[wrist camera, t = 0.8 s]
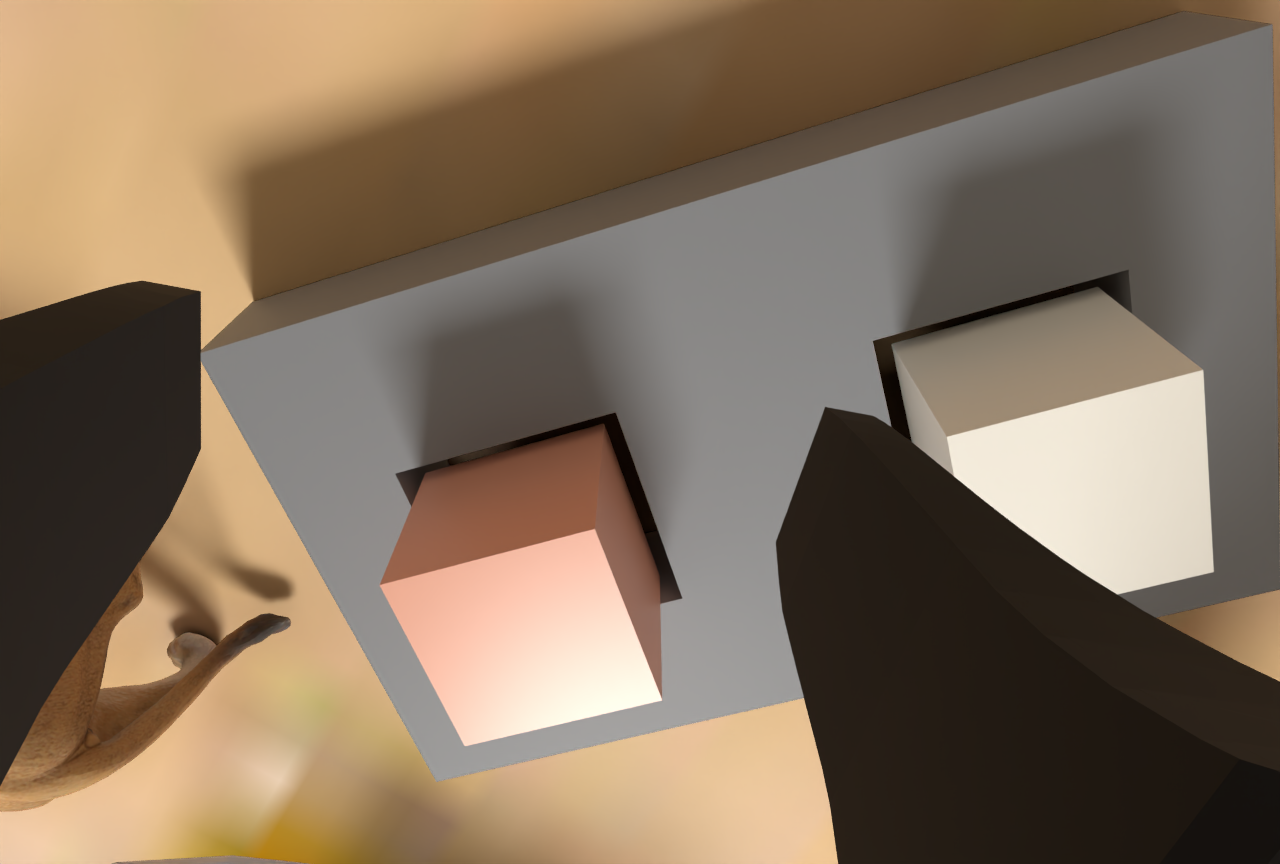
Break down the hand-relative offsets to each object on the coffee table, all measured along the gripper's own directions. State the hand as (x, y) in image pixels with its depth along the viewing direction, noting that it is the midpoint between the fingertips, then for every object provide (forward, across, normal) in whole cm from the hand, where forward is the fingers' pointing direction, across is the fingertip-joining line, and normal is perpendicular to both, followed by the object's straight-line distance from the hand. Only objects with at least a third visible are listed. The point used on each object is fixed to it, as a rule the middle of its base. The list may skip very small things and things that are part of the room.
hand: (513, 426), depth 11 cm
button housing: (+10, -6, +4) cm, 12 cm away
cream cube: (+7, -10, +2) cm, 12 cm away
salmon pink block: (+8, -1, +7) cm, 10 cm away
